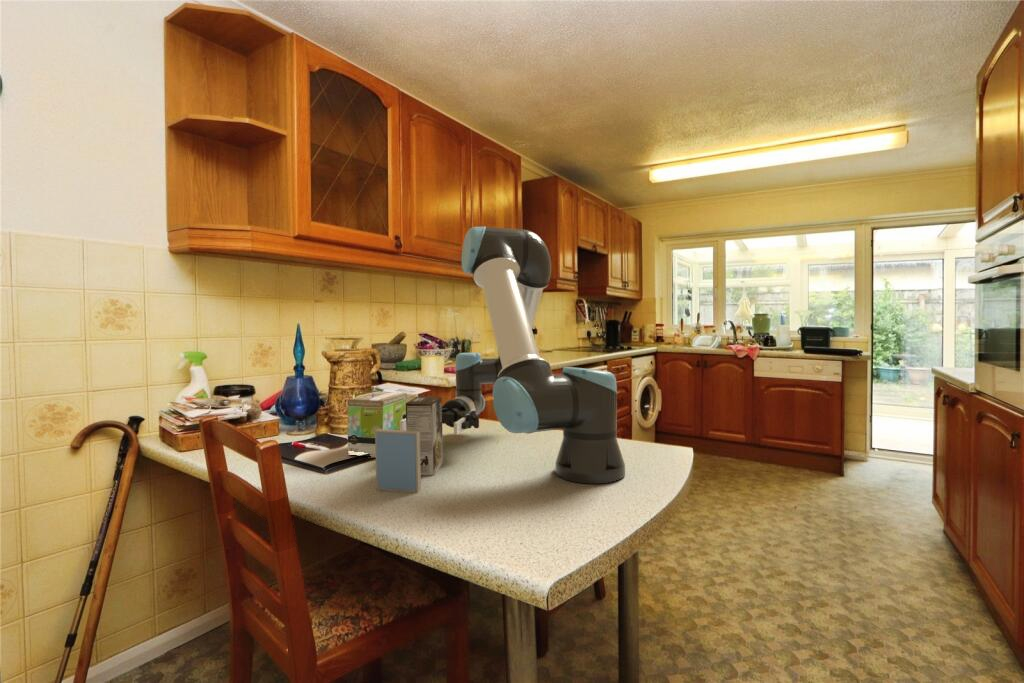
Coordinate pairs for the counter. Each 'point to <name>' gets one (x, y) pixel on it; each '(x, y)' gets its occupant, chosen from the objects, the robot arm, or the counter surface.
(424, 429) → the coffee box
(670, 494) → the counter surface
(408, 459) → the grey flat piece
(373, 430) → the tea box
